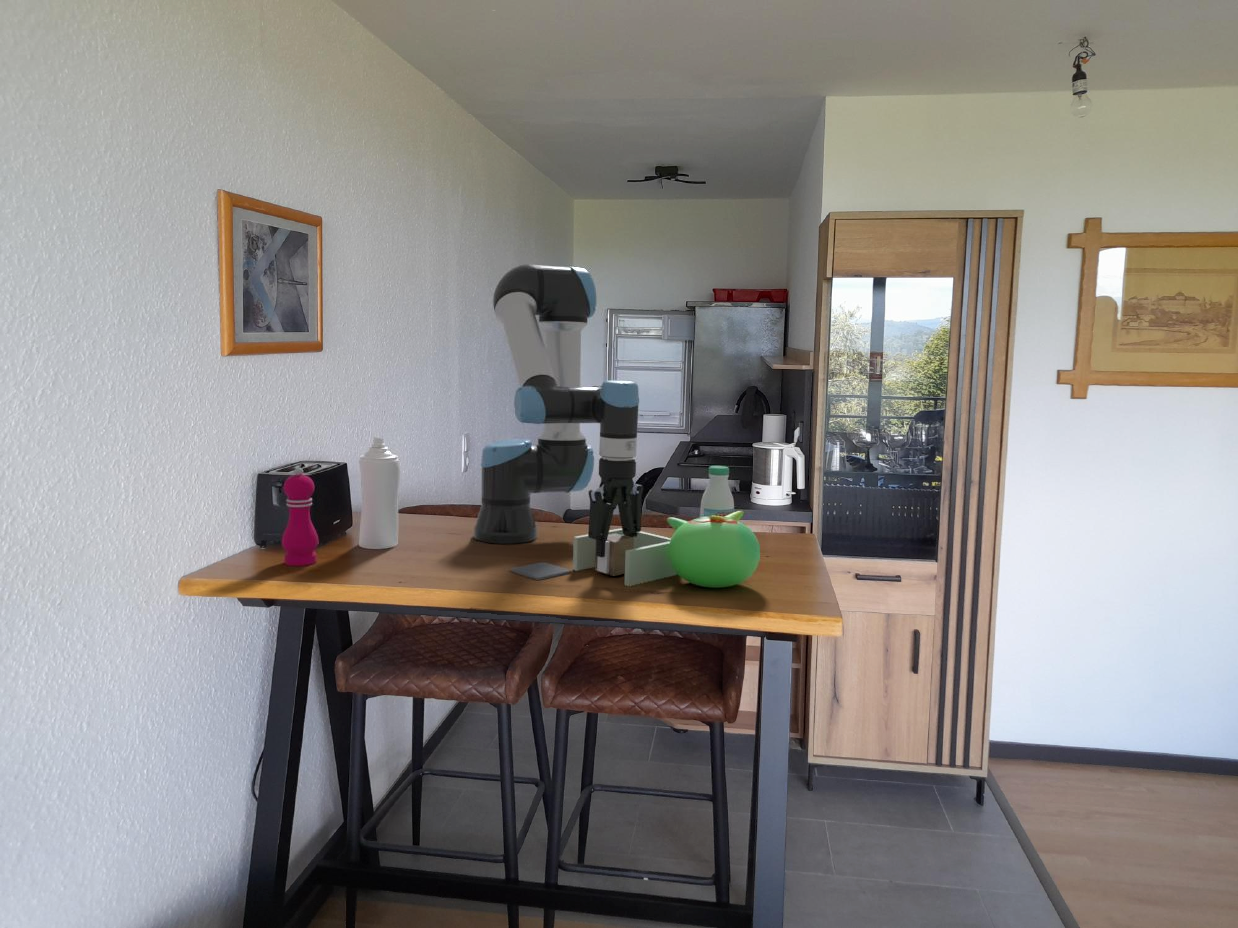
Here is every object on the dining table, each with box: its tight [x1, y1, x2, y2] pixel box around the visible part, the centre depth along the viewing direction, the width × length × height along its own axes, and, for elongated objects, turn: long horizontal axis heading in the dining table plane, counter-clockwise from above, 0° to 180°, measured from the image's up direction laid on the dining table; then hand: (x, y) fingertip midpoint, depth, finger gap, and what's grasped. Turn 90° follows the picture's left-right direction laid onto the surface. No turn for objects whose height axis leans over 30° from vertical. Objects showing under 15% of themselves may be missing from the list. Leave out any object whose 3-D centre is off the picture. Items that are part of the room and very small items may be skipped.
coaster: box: [509, 561, 573, 581], centre depth 182 cm, size 9×9×1 cm
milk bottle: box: [699, 465, 735, 517], centre depth 201 cm, size 8×8×20 cm
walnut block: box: [594, 534, 634, 577], centre depth 181 cm, size 6×6×7 cm
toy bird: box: [666, 510, 761, 589], centre depth 175 cm, size 18×17×15 cm
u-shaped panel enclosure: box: [572, 527, 678, 587], centre depth 183 cm, size 15×16×7 cm
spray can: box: [358, 437, 401, 550], centre depth 198 cm, size 12×11×25 cm
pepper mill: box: [281, 467, 320, 567], centre depth 182 cm, size 7×7×20 cm
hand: (613, 568), depth 182 cm, fingers closed on walnut block, 5 cm apart
